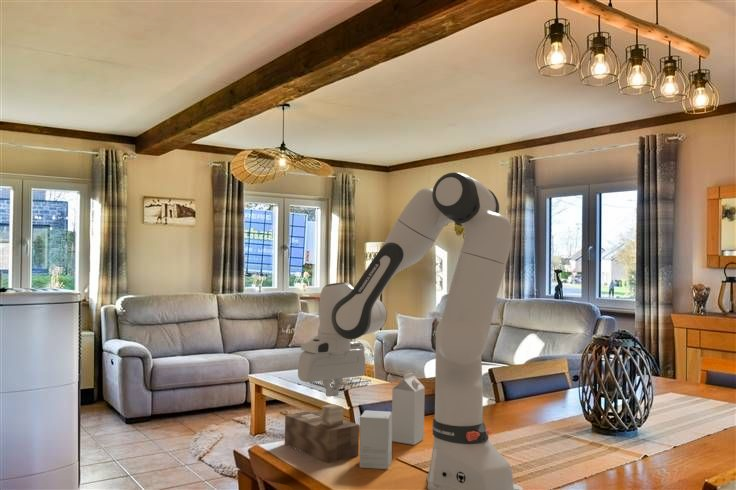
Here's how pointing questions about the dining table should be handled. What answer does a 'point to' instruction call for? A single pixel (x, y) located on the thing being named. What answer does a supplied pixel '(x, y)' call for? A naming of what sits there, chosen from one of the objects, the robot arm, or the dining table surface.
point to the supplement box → (375, 439)
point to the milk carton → (408, 411)
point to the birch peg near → (332, 415)
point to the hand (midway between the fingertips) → (331, 395)
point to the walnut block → (321, 437)
